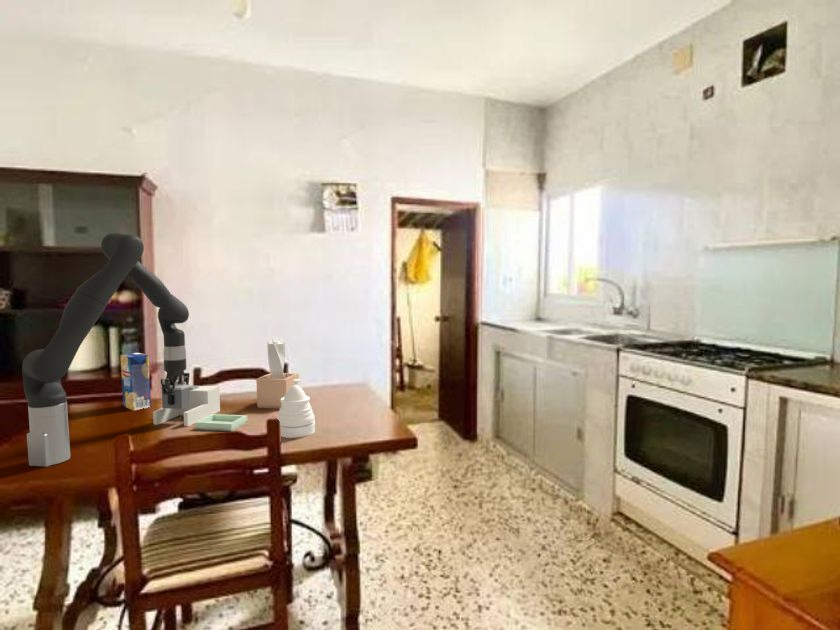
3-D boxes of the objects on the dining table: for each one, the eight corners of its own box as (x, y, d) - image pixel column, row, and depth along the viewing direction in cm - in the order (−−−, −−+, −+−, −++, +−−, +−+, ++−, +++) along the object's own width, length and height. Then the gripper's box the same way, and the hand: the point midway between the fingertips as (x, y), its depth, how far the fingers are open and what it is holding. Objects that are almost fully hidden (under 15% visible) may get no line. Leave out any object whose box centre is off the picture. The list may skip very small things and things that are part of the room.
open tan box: (286, 408, 207) (286, 379, 206) (257, 407, 210) (256, 378, 209) (299, 400, 220) (298, 373, 219) (271, 399, 222) (270, 372, 221)
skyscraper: (286, 405, 211) (284, 338, 208) (266, 405, 211) (264, 338, 208) (290, 400, 219) (289, 336, 217) (272, 400, 219) (270, 336, 217)
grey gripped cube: (182, 409, 186) (181, 387, 185) (161, 408, 187) (161, 386, 187) (190, 405, 191) (190, 384, 190) (171, 404, 192) (170, 384, 192)
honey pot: (286, 425, 184) (285, 376, 182) (320, 427, 182) (319, 377, 180) (270, 436, 171) (268, 384, 170) (306, 438, 169) (305, 385, 168)
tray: (231, 431, 178) (231, 424, 178) (195, 429, 180) (195, 422, 180) (247, 422, 189) (247, 415, 189) (213, 420, 191) (212, 414, 191)
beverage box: (140, 402, 219) (137, 352, 217) (151, 407, 212) (148, 355, 210) (123, 406, 214) (120, 354, 212) (133, 410, 207) (130, 357, 205)
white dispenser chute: (187, 426, 184) (186, 397, 183) (153, 424, 187) (152, 395, 186) (220, 410, 205) (219, 384, 204) (188, 409, 207) (187, 383, 206)
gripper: (171, 361, 180) (173, 408, 181) (195, 355, 194) (197, 399, 195) (152, 360, 181) (154, 407, 183) (178, 354, 196) (179, 398, 197)
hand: (176, 402), depth 189 cm, fingers closed on grey gripped cube, 5 cm apart
